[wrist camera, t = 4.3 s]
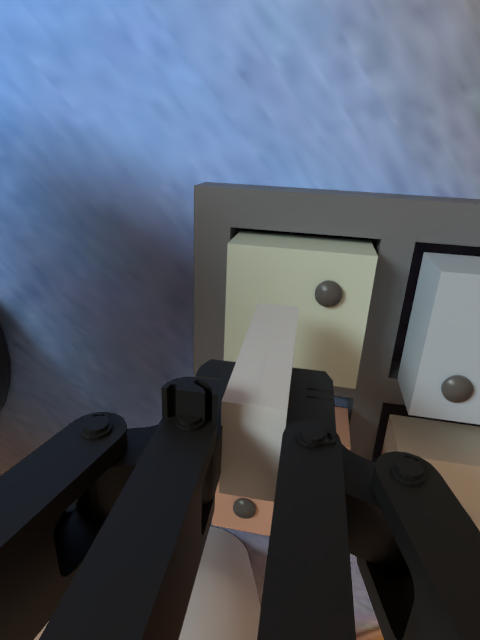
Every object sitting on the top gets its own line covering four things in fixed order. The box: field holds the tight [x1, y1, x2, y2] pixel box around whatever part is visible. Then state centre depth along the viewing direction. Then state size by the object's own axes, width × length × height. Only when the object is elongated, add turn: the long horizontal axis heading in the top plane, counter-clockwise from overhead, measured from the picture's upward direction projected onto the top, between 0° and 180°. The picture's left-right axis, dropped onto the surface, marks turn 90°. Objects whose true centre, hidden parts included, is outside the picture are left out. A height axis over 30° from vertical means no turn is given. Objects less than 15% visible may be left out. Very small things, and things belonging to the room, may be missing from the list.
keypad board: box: [194, 182, 480, 460], centre depth 22 cm, size 18×18×2 cm
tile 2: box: [224, 230, 378, 389], centre depth 20 cm, size 6×6×3 cm
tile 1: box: [381, 414, 480, 531], centre depth 20 cm, size 6×6×3 cm
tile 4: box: [212, 407, 351, 536], centre depth 21 cm, size 6×6×3 cm
